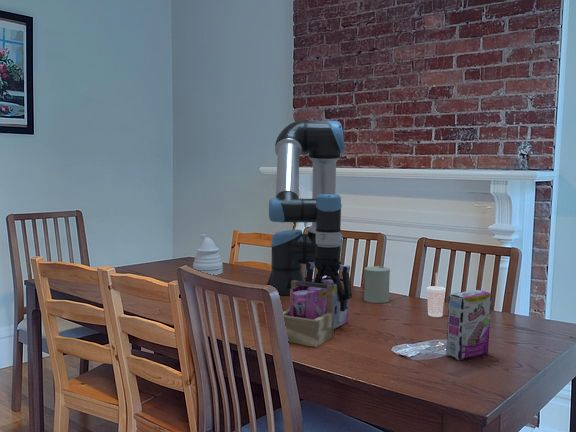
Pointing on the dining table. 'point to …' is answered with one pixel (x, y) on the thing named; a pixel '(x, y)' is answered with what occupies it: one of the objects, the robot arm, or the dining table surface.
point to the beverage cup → (435, 300)
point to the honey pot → (208, 257)
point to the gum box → (315, 302)
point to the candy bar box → (468, 324)
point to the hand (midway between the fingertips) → (327, 319)
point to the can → (376, 284)
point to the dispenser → (311, 320)
